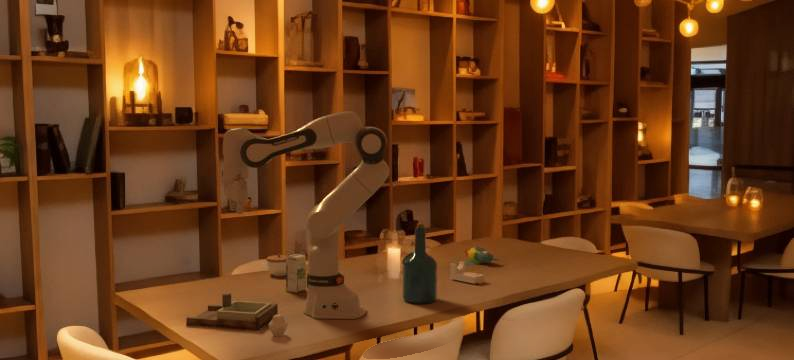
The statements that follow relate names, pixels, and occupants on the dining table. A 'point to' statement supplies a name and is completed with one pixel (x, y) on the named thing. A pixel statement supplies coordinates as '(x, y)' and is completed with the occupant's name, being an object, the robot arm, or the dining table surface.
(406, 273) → the wine bottle
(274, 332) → the muffin
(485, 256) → the green parrot figure
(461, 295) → the dining table surface
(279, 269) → the lidded jar
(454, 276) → the bracket
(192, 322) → the bay
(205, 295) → the dining table surface
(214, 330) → the dining table surface
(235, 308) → the drawer
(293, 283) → the syrup box
